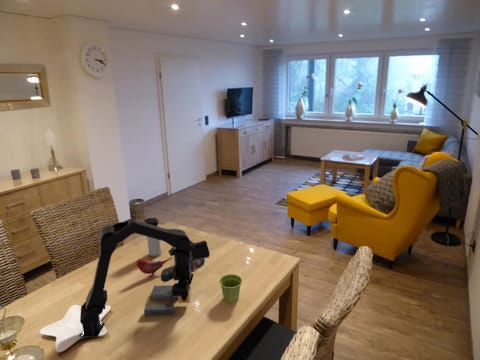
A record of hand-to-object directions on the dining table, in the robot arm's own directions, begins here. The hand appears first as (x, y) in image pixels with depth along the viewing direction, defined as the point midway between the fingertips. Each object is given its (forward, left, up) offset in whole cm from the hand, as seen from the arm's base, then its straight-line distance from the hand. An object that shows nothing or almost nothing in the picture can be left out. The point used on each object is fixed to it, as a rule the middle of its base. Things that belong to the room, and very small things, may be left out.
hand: (185, 297), depth 133 cm
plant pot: (+4, -18, -4) cm, 19 cm away
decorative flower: (+33, +3, -4) cm, 33 cm away
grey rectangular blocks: (+1, +9, -4) cm, 10 cm away
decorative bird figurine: (+23, +18, -4) cm, 29 cm away
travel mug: (+42, +23, -4) cm, 48 cm away
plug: (0, +3, -1) cm, 3 cm away
